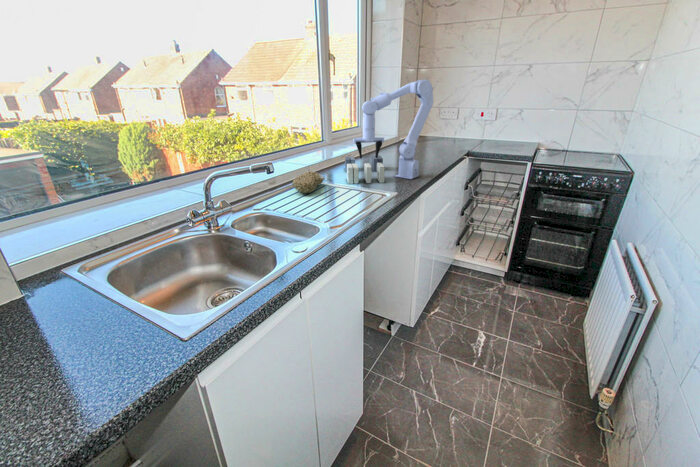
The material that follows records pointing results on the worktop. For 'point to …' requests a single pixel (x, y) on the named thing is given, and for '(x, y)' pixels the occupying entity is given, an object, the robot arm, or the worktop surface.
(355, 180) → the white books
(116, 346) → the worktop surface
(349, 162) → the grey books
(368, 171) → the white book
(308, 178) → the sponge
